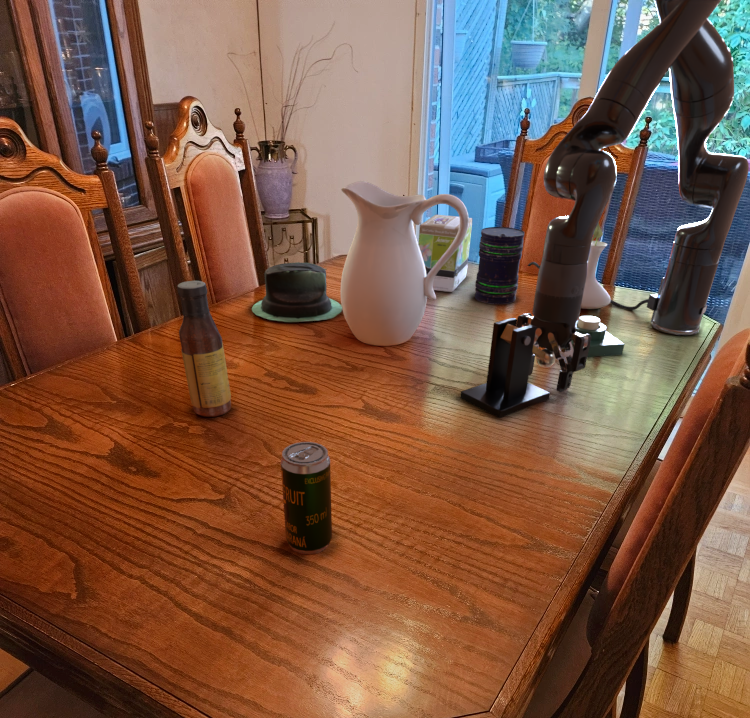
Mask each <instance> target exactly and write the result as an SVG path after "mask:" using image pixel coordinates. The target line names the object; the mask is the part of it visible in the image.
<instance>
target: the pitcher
mask: <svg viewBox="0 0 750 718" xmlns="http://www.w3.org/2000/svg"><path fill="white" fill-rule="evenodd" d="M340 190H341V192H342V193H343V194H344V195H345V196H346V197H347V198H348V199H349V200H350V201H351V202H352V205H354V207H355V210H356V213H357V224H356V230H355V233H354V236H353V239H352V242H351V244H350V247H349V249H348V251H347V255H346V258H345V261H344V264H343V268H342V273H341V279H340V290H339V291H340V305H341V306H342V313H343V317H344V319H345V321H346V323H347V325H348V327H349V329H350V331H351V333H352V334H353V335H354V337H355V338H356V339H357V340H358V341H359V342H361V343H364V344H366V345H371V346H377V347H379V346H381V347H391V346H397V345H402V344H403V343H406V342H408V341H410V340H411V339H412V337H413V335H414V334H415V332H417V330H418V328H419V326H420V324H421V323H422V320H423V318H424V315H425V312H426V308H427V302H428V299H429V300H432V301H435V300H437V295H436V293H435V290H433V280H434V277H435V276H436V274H437V273H438V271H439V270H440V269H441V267H442V266H443V265H444V264H445V263H446V262H447V260H448V259H449V258H450V257H451V256H452V255H453V254H454V252H455V251H456V250H457V249H458V247H459V246H460V244H461V243H462V241H463V240H464V238H465V236H466V233H467V230H468V224H469V218H470V217H469V212H468V209H467V206H466V205H465V204H464V201H462V200H461V199H460V198H459V197H457V196H456V195H453V194H449V193H440V194H436V195H433V196H431V197H429V198H426V196H425V195H424V194H413V195H407V196H406V195H403V196H401V195H398V194H397V195H396V194H394V193H391V192H389V191H387V190H385V189H383V188H381V187H380V186H377V185H375V184H373V183H372V182H368V181H367V180H360V181H355V182H351V183H349V184H347V185H346V186H343V187H341V189H340ZM437 205H447V206H450V207H451V208H453V209H454V210H455V211H456V212H457V214H458V217H460V226H459V230H458V233H457V235H456V237H455V239H454V241H453V242H452V244H451V245H450V247H449V248H448V249H447V251H446V252H445V253H444V254H443V255H442V257H441V258H440V259H439V260H438V262H437V263H436V264H435V265H434V266H433V268H432V269H431V270H430V272H429V273H428V274H427V275H426V269H425V265H424V261H423V257H422V254H421V251H420V248H419V245H418V244H419V241H418V238H417V236H416V232H415V231H416V230H415V227H414V226H415V225H416V226H420V225H421V223H422V222H421V221H422V217H423V215H424V213H425V212H426V211H428V210H429V209H431V208H432V207H434V206H437Z"/></svg>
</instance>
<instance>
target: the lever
mask: <svg viewBox="0 0 750 718" xmlns="http://www.w3.org/2000/svg"><path fill="white" fill-rule="evenodd" d="M515 329H518V327H516V326H513V325H510V324H507V326H506V327H505V329H504V331H503V333H502V335H501V338H502V339H503V340H505V341H506V342H508V343H509V344H511V338H512V331H513V330H515ZM532 353H533V354H534V355H535V360H536V363H537V365H539V367H541V368H545V369H546V368H550V367H552V366H553V365H554V364H555V363H556V361H557V359H556V358H555V355H554V352H551V351H549V350H548V349H546V348H541V349H540V347H539V348H537V347H536V346H534V345H533V351H532Z"/></svg>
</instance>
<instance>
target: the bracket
mask: <svg viewBox="0 0 750 718" xmlns="http://www.w3.org/2000/svg"><path fill="white" fill-rule="evenodd" d="M507 324H510V325H513V326H516V325H517V318H515V317H509V318H507V319H502V320H499V321H496V322H493V325H492V326H493V327H492V334H491V341H490V342H491V343H490V351H489V352H490V353H489V360H488V366H487V367H488V368H487V376H486V382H485V383H481V384H479V385H476V386H473V387H470V388H466V389H464V390H461V391H460V395H459V396H460V397H459V399H460V400H462V401H465V402H467V403H469V404H471V405H472V406H474V407H476V408H477V409H480V410H482V411H484V412H486V413H488V414H490V415H492V416H494V417H495V418H497V419H501V418H504V417H506V416H510V415H512V414H514V413H517V412H519V411H522V410H524V409H527V408H530V407H533V406H535V405H538V404H541V403H543V402H546V401H548V400H550V396H551V392H550V391H548V390H546V389H543V388H541V387H539V386H536V385H534V384H532V383H529V382H528V381H529V376H530V375H529V370H530V363H531V357H532V351H533V345H534V338H535V332H536V326H534V325H529V326H525V327H522V328H518V329H515V330H513V331H512V338H511V344H509V343H508V342H506V341H505V340H503V339H502V338H501V335H502V333H503V331H504V329H505V327H506V326H507Z"/></svg>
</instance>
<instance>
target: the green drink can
mask: <svg viewBox="0 0 750 718" xmlns="http://www.w3.org/2000/svg"><path fill="white" fill-rule="evenodd" d="M281 452H282V453H281V459H280V474H281V489H282V502H283V515H284V529H285V541H286V542H287V545H288V546H289V548H290V549H291V550H292V551H294V552H295V553H298V554H301V555H315V554H319V553H321V552H323V551H325V550H326V549H327V548H328V547H329V545H330V543H331V542H332V540H333V520H332V518H333V517H332V486H331V485H332V481H331V480H332V479H331V477H332V476H331V458H330V456H329V451H328V448H327V447H326V446H324V445H323V444H321V443H318V442H313V441H300V442H299V441H298V442H295V443H292V444H289V445H287V446H286V447H284V449H283V450H282V451H281Z"/></svg>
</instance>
